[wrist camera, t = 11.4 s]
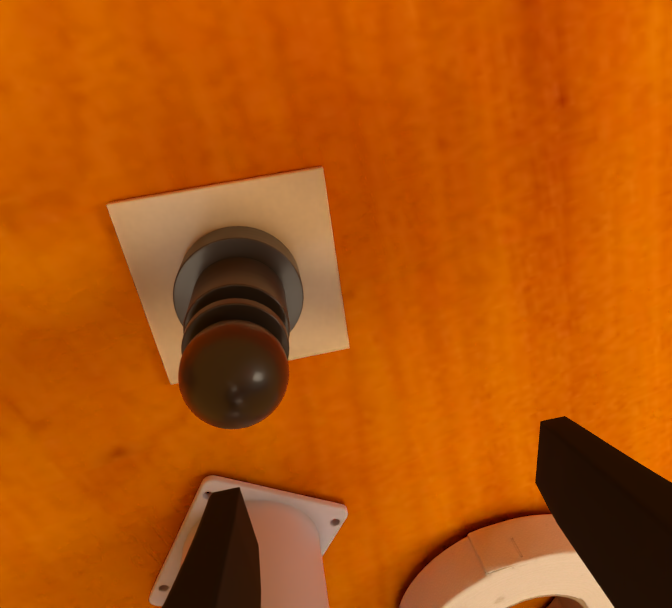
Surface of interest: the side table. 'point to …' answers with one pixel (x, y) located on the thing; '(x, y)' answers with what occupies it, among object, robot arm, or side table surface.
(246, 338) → the chess pawn
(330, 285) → the maple square
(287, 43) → the side table surface
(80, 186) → the side table surface
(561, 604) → the tape roll
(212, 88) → the side table surface
